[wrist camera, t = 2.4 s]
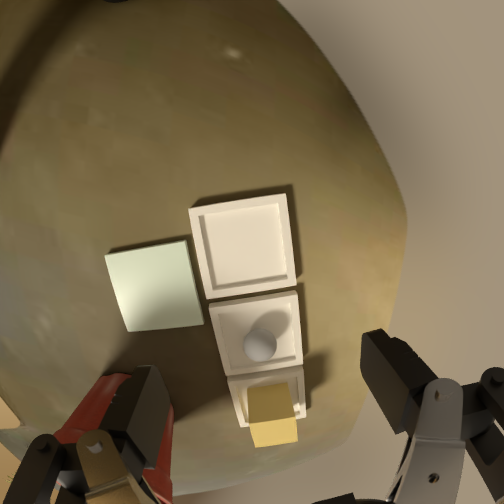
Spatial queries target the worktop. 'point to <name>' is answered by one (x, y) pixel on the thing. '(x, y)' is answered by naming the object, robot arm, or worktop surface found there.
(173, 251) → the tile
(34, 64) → the worktop surface
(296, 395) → the dish
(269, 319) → the dish
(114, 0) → the cola bottle
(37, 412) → the worktop surface
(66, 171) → the worktop surface
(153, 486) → the flower pot
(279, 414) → the letter block
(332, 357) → the worktop surface
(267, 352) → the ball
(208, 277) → the dish
